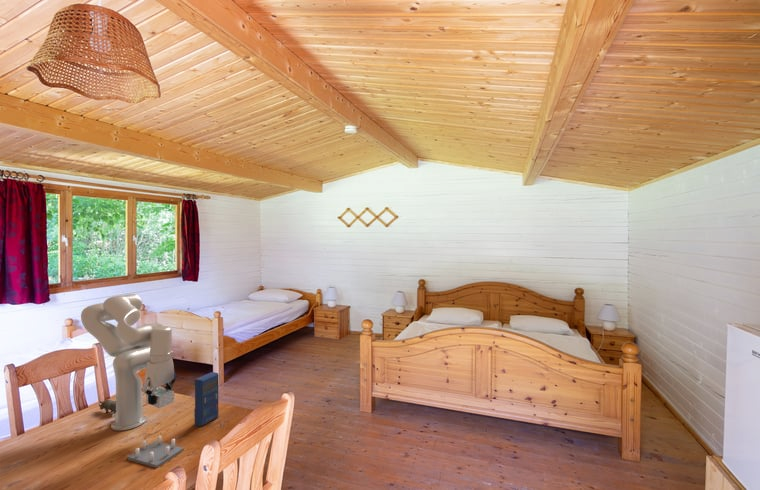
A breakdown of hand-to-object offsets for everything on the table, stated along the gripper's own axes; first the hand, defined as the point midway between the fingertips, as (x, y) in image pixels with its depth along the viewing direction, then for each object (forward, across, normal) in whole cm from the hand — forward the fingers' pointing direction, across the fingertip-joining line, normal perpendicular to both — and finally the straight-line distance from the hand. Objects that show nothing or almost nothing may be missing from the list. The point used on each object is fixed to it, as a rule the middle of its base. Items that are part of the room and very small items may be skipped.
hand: (159, 399), depth 145 cm
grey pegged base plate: (+14, +11, +12) cm, 21 cm away
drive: (+1, 0, 0) cm, 1 cm away
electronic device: (+14, -15, +10) cm, 23 cm away
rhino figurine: (+16, -6, -39) cm, 42 cm away
